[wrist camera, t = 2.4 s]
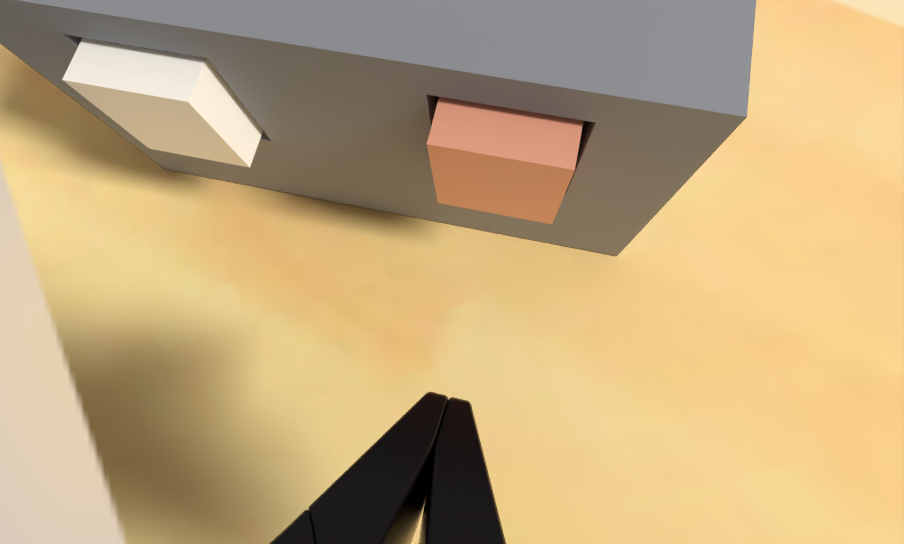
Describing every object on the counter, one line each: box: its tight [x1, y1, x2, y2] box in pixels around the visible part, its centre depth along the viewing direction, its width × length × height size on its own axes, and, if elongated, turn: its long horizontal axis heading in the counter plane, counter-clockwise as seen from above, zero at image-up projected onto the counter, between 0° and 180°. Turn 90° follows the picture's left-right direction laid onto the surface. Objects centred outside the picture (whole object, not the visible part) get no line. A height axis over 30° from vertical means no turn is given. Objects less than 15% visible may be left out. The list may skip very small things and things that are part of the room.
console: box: [0, 0, 756, 256], centre depth 19 cm, size 5×22×11 cm, turn 77°
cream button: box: [62, 38, 263, 168], centre depth 16 cm, size 2×4×4 cm, turn 77°
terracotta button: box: [427, 97, 583, 224], centre depth 15 cm, size 2×4×4 cm, turn 78°
